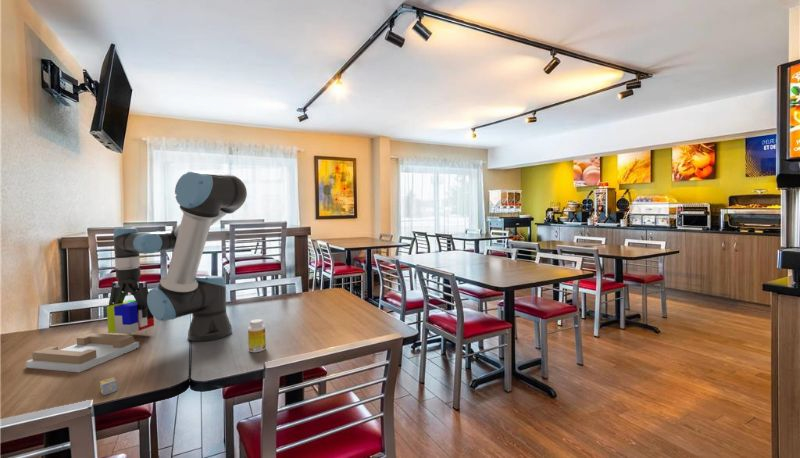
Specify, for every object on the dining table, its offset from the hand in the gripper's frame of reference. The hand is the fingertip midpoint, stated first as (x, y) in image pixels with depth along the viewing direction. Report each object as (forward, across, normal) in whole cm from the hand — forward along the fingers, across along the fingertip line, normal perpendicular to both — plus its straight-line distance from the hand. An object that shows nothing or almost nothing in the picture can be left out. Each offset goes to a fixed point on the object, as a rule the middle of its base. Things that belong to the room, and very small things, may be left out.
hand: (131, 325), depth 139 cm
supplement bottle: (+6, -55, +4) cm, 56 cm away
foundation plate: (+5, -2, +19) cm, 20 cm away
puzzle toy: (+2, 0, 0) cm, 2 cm away
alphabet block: (+6, -32, +37) cm, 49 cm away
